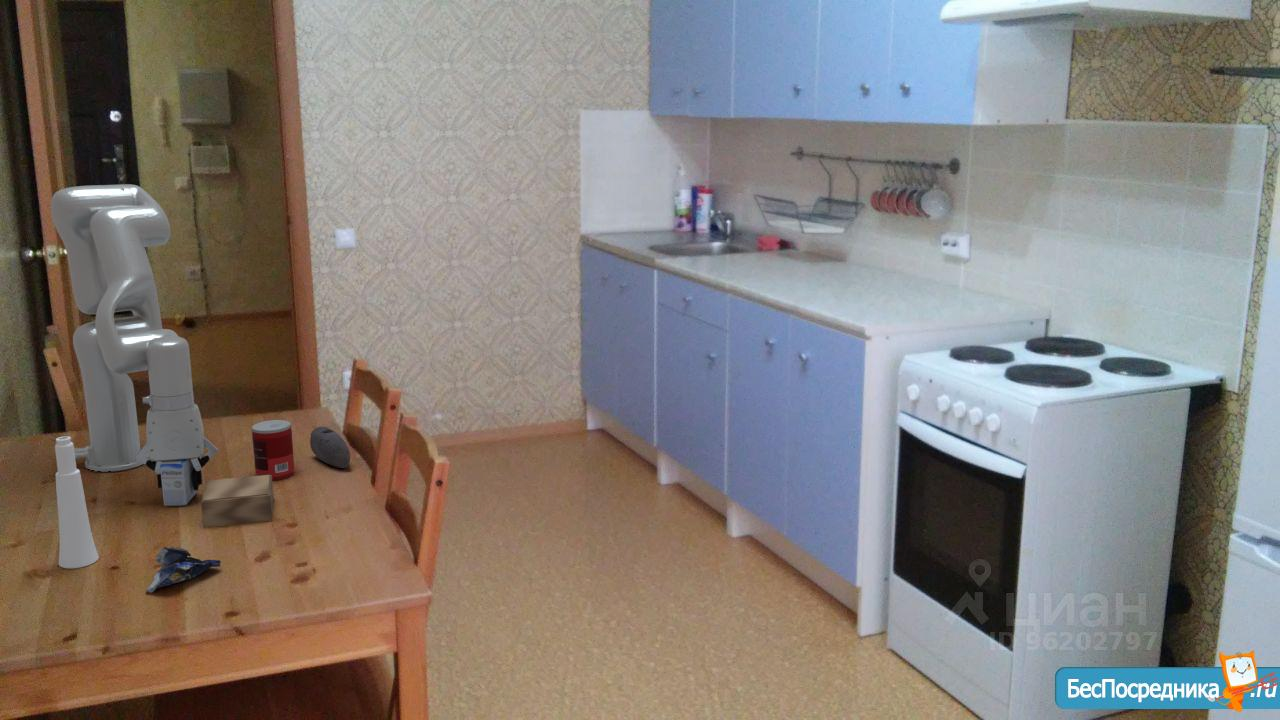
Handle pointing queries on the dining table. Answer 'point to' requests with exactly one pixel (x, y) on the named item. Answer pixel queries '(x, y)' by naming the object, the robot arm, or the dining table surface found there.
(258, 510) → the block
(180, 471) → the medicine box
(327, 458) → the perforated stone tool
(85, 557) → the cosmetic bottle
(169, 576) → the snack package
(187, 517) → the dining table surface
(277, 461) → the canned food
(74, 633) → the dining table surface
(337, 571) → the dining table surface
